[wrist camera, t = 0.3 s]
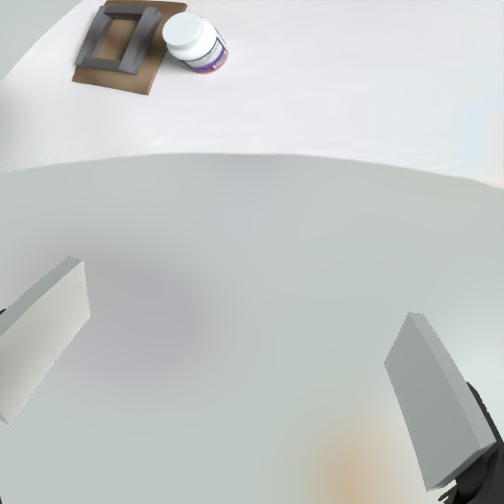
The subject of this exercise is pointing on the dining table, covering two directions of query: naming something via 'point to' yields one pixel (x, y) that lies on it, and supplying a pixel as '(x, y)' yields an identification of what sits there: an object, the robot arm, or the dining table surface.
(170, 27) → the pill bottle
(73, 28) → the dining table surface
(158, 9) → the square framed tray
